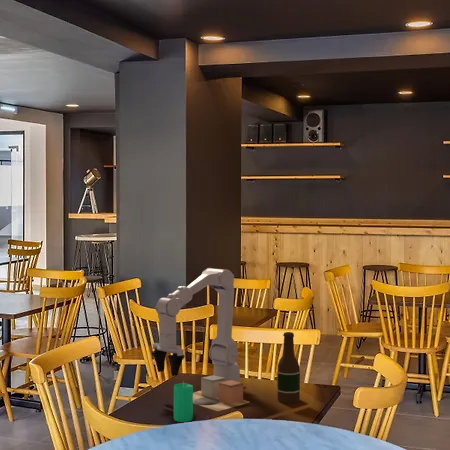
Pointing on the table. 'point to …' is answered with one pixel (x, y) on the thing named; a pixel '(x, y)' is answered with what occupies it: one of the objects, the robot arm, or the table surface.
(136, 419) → the table surface
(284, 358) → the beer bottle
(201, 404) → the board
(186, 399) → the candle
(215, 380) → the grey square box
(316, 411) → the table surface
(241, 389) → the small tan cube
